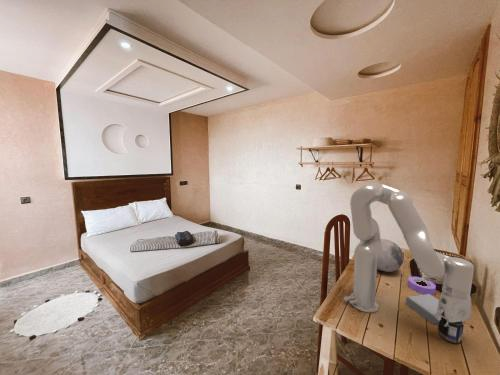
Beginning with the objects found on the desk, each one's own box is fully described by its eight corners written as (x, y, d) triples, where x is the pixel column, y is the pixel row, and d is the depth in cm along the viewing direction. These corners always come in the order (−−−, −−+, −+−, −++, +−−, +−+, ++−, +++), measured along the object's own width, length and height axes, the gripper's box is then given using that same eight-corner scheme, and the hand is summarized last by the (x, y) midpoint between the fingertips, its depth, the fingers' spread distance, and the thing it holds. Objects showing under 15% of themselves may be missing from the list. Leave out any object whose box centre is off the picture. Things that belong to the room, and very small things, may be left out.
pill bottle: (449, 331, 85) (452, 306, 84) (464, 344, 79) (468, 318, 78) (434, 331, 85) (437, 307, 84) (449, 344, 79) (453, 318, 78)
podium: (432, 324, 89) (433, 315, 89) (405, 303, 102) (406, 296, 102) (457, 320, 91) (458, 311, 91) (428, 300, 104) (429, 293, 104)
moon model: (369, 275, 128) (371, 244, 125) (363, 260, 147) (364, 233, 144) (407, 280, 122) (410, 248, 119) (395, 264, 140) (398, 236, 138)
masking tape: (417, 280, 122) (417, 274, 121) (440, 292, 111) (441, 286, 110) (402, 284, 118) (403, 278, 118) (425, 297, 107) (426, 290, 107)
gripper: (447, 299, 74) (441, 343, 77) (486, 294, 77) (479, 337, 79) (426, 286, 82) (422, 327, 84) (463, 282, 84) (457, 322, 87)
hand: (450, 331), depth 82 cm, fingers closed on pill bottle, 6 cm apart
